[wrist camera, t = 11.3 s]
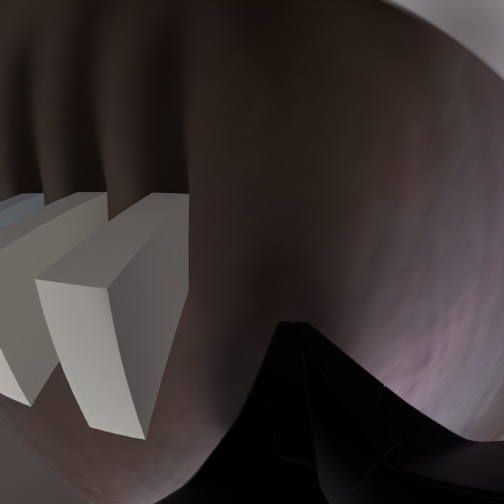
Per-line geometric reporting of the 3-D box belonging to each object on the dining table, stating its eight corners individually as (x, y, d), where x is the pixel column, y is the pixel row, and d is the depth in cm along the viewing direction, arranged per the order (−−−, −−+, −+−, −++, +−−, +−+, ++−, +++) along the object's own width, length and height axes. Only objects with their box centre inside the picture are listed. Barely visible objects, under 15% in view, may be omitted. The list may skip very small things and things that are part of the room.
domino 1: (189, 194, 13) (107, 288, 5) (188, 290, 15) (145, 439, 7) (152, 192, 13) (34, 278, 5) (155, 287, 15) (90, 426, 7)
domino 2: (106, 191, 13) (-28, 268, 5) (114, 283, 15) (31, 406, 6) (77, 192, 13) (-57, 262, 5) (87, 280, 15) (-3, 391, 6)
